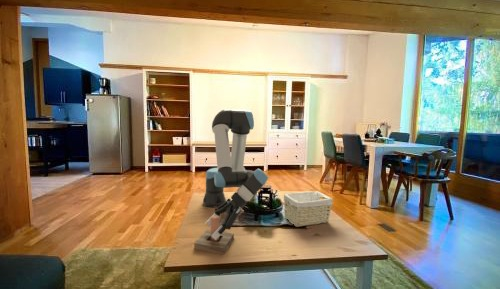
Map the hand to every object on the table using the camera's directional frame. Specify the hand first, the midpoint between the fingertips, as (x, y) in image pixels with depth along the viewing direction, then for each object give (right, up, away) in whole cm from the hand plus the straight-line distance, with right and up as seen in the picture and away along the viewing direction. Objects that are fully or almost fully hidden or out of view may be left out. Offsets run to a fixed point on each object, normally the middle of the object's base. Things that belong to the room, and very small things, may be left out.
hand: (210, 231), depth 120 cm
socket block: (+2, -7, +2) cm, 7 cm away
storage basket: (+51, -4, +31) cm, 60 cm away
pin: (+2, -7, +2) cm, 7 cm away
